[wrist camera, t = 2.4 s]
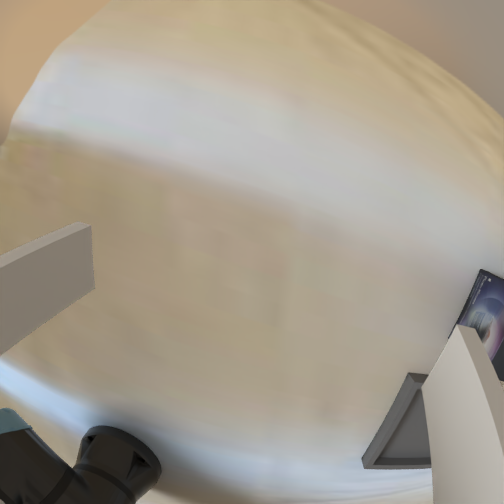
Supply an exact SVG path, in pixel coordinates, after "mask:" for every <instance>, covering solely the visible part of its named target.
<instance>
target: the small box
mask: <svg viewBox="0 0 504 504" xmlns="http://www.w3.org/2000/svg"><path fill="white" fill-rule="evenodd" d="M456 324H458V325H462V326H466V327H470V328H475V330H476V332H477V334H478V336H479V338H480V340H481V342H482V344H483V346H484V348H485V350H486V352H487V354H488V356H489V359H490V361H491V363H492V365H493V367H494V370H495V372H496V374H497V376H498V379H499V380H500V381H504V279H502V278H500V277H497V276H495V275H493V274H491V273H490V272H487V271H485V270H483V269H480V271H479V274H478V276H477V279H476V281H475V283H474V286H473V288H472V290H471V293H470V295H469V297H468V299H467V301H466V303H465V306H464V308H463V310H462V312H461V314H460V316H459V318H458V320H457V322H456ZM456 324H455V326H456ZM455 326H454V328H455ZM454 328H453V330H454ZM453 330H452V332H453ZM452 332H451V334H452ZM451 334H450V336H451ZM450 336H449V337H448V339H449V338H450Z"/></svg>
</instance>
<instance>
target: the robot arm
mask: <svg viewBox="0 0 504 504" xmlns="http://www.w3.org/2000/svg"><path fill="white" fill-rule="evenodd" d="M93 289H95V283H94V271H93V255H92V230H91V225H89V224H85V223H82V222H79V221H78V222H75V223H73V224H70V225H68V226H65V227H63V228H61V229H58V230H56V231H54V232H51V233H49V234H47V235H44V236H42V237H40V238H37V239H35V240H33V241H31V242H28V243H26V244H24V245H22V246H20V247H17V248H15V249H13V250H11V251H9V252H7V253H5V254H2V255H0V356H1V355H2V354H3V353H5V352H6V351H7V350H9V349H10V348H11V347H13V346H14V345H15V344H17V343H18V342H19V341H21V340H22V339H23V338H25V337H26V336H28V335H29V334H30V333H32V332H33V331H34V330H36V329H37V328H39V327H40V326H41V325H43V324H44V323H46V322H47V321H48V320H50V319H51V318H53V317H54V316H56V315H57V314H58V313H60V312H61V311H63V310H64V309H66V308H67V307H68V306H70V305H71V304H73V303H74V302H76V301H77V300H79V299H80V298H82V297H83V296H84V295H86V294H87V293H89V292H90V291H92V290H93ZM421 388H422V394H423V400H424V406H425V413H426V420H427V428H428V436H429V445H430V454H431V466H432V479H433V500H434V504H504V391H503V388H502V386H501V383H500V381H499V379H498V376H497V374H496V372H495V370H494V367H493V365H492V363H491V361H490V359H489V356H488V354H487V352H486V350H485V348H484V346H483V344H482V342H481V340H480V338H479V336H478V334H477V332H476V330H475V328H470V327H466V326H462V325H458V324H456V326H455V328H454V330H453V332H452V334H451V336H450V338H449V340H448V342H447V344H446V346H445V348H444V349H443V351H442V353H441V355H440V357H439V358H438V360H437V362H436V364H435V365H434V367H433V369H432V371H431V372H430V374H429V376H428V377H427V379H426V381H425V382H424V384H423V385H422V387H421ZM160 474H161V466H160V463H159V461H158V459H157V458H156V456H155V455H154V453H153V452H152V451H151V450H150V449H149V448H148V447H147V446H146V445H144V444H143V443H142V442H141V441H139V440H138V439H136V438H135V437H133V436H131V435H130V434H128V433H126V432H124V431H121V430H119V429H116V428H113V427H108V426H95V427H92V428H90V429H89V430H88V431H87V433H86V434H85V435H84V437H83V438H82V440H81V444H80V448H79V452H78V456H77V461H76V464H75V466H74V467H73V468H71V467H70V466H69V465H68V464H67V463H66V462H64V461H63V460H62V459H61V458H60V457H59V456H58V455H57V454H56V453H55V452H54V451H53V450H52V449H51V448H50V447H49V446H48V445H47V444H46V443H45V442H44V441H43V440H42V439H41V438H40V437H39V436H38V435H37V434H36V433H35V432H34V431H33V430H32V427H31V426H30V425H28V424H27V423H26V422H25V421H24V420H23V419H22V418H21V417H20V416H19V415H18V414H17V413H16V412H15V411H14V410H12V409H10V408H2V409H0V504H135V503H136V501H137V500H138V499H140V498H141V497H142V496H143V495H144V494H145V493H147V492H148V491H149V490H150V489H151V488H152V487H153V486H154V485H155V484H156V483H157V481H158V479H159V476H160Z"/></svg>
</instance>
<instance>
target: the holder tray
mask: <svg viewBox="0 0 504 504" xmlns="http://www.w3.org/2000/svg"><path fill="white" fill-rule="evenodd" d="M428 376H429V375H424V374H416V373H408V374H407V376H406V379H405V381H404V383H403V385H402V387H401V389H400V391H399V393H398V395H397V397H396V399H395V401H394V403H393V405H392V407H391V408H390V410H389V412H388V414H387V416H386V418H385V420H384V421H383V423H382V425H381V427H380V428H379V430H378V432H377V434H376V435H375V437H374V439H373V440H372V442H371V444H370V445H369V447H368V449H367V450H366V452H365V454H364V455H363V457H362V462H363V466H364V469H425V468H432V466H431V454H430V445H429V436H428V428H427V420H426V413H425V406H424V400H423V394H422V388H421V387H422V385H423V384H424V382H425V381H426V379H427V377H428Z"/></svg>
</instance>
